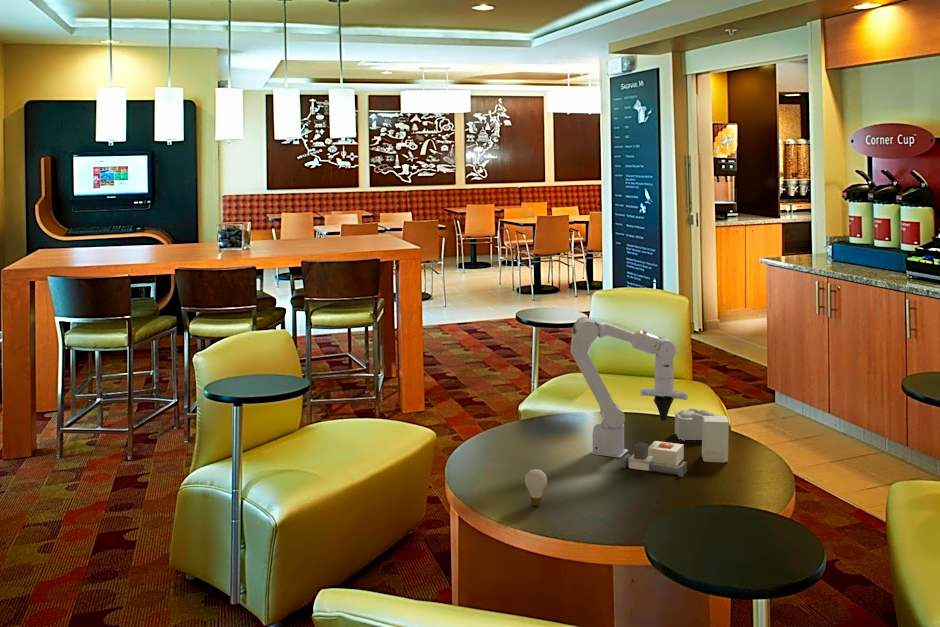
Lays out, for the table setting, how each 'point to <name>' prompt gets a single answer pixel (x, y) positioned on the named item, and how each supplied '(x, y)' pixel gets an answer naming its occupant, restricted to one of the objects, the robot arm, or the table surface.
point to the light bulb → (535, 485)
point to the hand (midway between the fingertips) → (663, 419)
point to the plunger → (665, 445)
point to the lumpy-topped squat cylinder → (690, 424)
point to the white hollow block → (666, 453)
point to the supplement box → (715, 438)
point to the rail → (660, 467)
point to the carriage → (640, 457)
